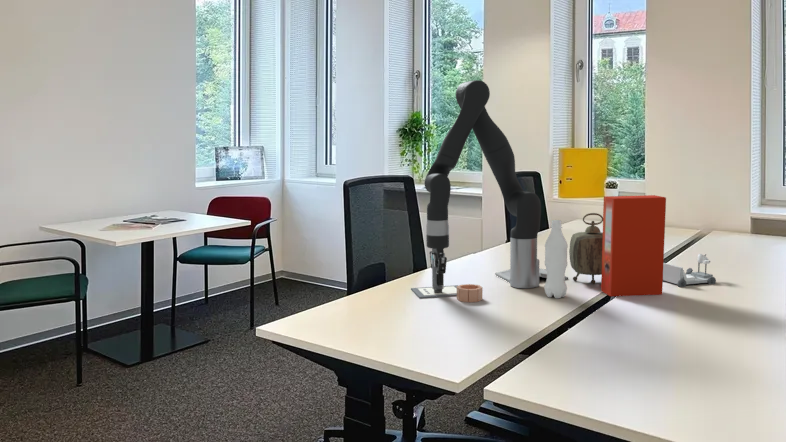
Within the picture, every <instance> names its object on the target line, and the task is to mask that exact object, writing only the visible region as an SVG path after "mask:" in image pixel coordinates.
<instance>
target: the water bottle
mask: <svg viewBox="0 0 786 442" xmlns="http://www.w3.org/2000/svg"><path fill="white" fill-rule="evenodd" d="M562 226H563V225H562V220H561V219H552V220H551V226H550V228H551V230H550V233H549V235H548V237H547V239H546V241H545V244H544V249H545V250H544V266H545V269H546V270H547V278H546V280H545V284H544V285H543V287H544V293H545V295H546V297H548V298H552V297H554V298H555V299H560V298H565V296H566V294H567V292H568V291H567V290H568V287H567V284H566V280H565V276H566V269H567V268H568V247H569V246H568V241H567V240H566V238H565V235H564V234H563V230H562V229H563V227H562Z"/></svg>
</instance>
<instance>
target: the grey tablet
mask: <svg viewBox="0 0 786 442" xmlns="http://www.w3.org/2000/svg"><path fill="white" fill-rule="evenodd" d="M457 286H459V284H457V285H444V289H442V292H441V293H435V292H434V289H432V286H425V287H424V286H423V287H410V290H411V292H413V294H415V296H417V298H419V299H430V298H431V299H432V298H433V299H434V298H446V297H457Z"/></svg>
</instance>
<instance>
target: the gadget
mask: <svg viewBox="0 0 786 442" xmlns="http://www.w3.org/2000/svg"><path fill="white" fill-rule="evenodd" d="M495 275H496V276H495ZM494 276H495V277H497V276H498V277H497V278H499V277H500V278H502V279H504V280H506V281H507V282H506V281H505V282H506V283H508V282H509V283H508V284H510V268H509V269H506V270H502V271H499V272H495V273H494ZM500 278H499V279H500ZM539 278H545V279H547V270H546V268H545V269H544V268H541V267H539ZM502 279H501V280H502ZM504 280H503V281H504ZM568 280H569V277H568V276H566V275H565V281H568Z"/></svg>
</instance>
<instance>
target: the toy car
mask: <svg viewBox="0 0 786 442" xmlns="http://www.w3.org/2000/svg"><path fill="white" fill-rule="evenodd" d="M697 262H698V265H697V267H698V269H697V271H694V270H693V269H692V267H689V268H687V269H686V272H685V270H684V267H682V266H678V265H674V264H670V263H666V262H663V281H664V282H668V283H672V284H675V285H677V287H679V288H685V287H686V286H687V285H694V284H695V285H696V284H704V283H707V284H708V285H715V284H717V279H716V278H715V276H714V275H713V274H712V273H707V264H710V263H711V260H709V258H708V257H707V254H702V253H698V254H697ZM700 264H704V265H705V266H704V267H705V268H704V271H700V267H701V266H700Z"/></svg>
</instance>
